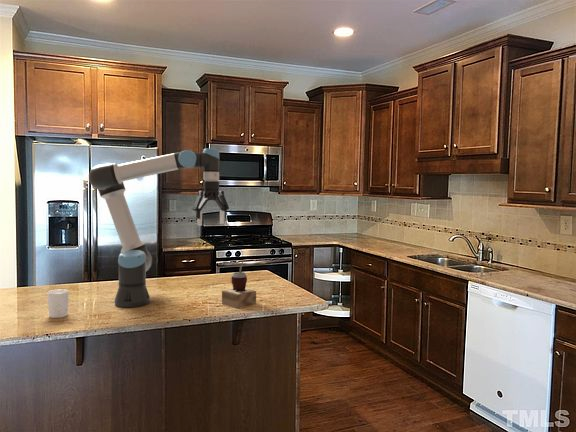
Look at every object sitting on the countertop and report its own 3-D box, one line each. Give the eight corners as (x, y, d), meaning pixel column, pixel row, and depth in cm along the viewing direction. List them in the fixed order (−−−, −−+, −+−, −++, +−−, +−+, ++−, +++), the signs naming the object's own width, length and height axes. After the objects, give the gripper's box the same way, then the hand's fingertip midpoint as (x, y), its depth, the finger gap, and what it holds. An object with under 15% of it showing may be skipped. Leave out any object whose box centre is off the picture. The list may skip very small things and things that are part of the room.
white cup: (72, 313, 193) (72, 289, 192) (64, 318, 185) (63, 293, 185) (53, 312, 193) (52, 289, 192) (44, 318, 185) (43, 293, 184)
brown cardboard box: (237, 308, 204) (237, 294, 204) (221, 303, 211) (221, 290, 211) (256, 304, 212) (256, 290, 212) (240, 299, 220) (240, 286, 219)
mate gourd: (235, 288, 216) (235, 256, 215) (251, 289, 214) (251, 257, 212) (228, 291, 209) (228, 258, 208) (244, 293, 207) (244, 259, 205)
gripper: (194, 180, 212) (194, 226, 213) (236, 181, 230) (235, 223, 231) (185, 180, 217) (185, 225, 218) (226, 181, 235) (226, 222, 237)
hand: (211, 224), depth 225 cm, fingers open, 13 cm apart
